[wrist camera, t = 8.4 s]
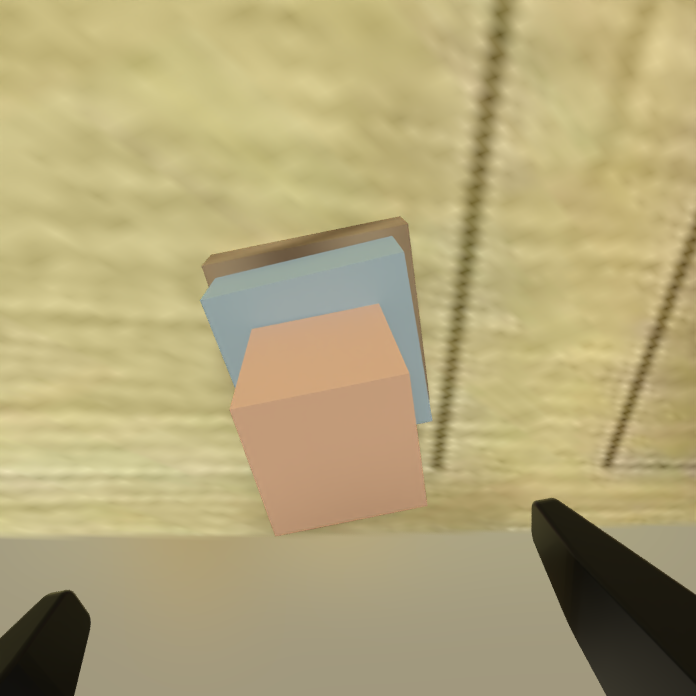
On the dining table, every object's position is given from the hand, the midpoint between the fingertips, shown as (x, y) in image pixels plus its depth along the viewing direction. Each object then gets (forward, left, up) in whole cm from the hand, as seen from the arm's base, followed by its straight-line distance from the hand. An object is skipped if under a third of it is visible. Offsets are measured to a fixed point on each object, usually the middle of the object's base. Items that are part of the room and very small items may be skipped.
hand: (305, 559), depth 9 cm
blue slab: (-1, 0, -11) cm, 11 cm away
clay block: (-1, +1, -8) cm, 8 cm away
